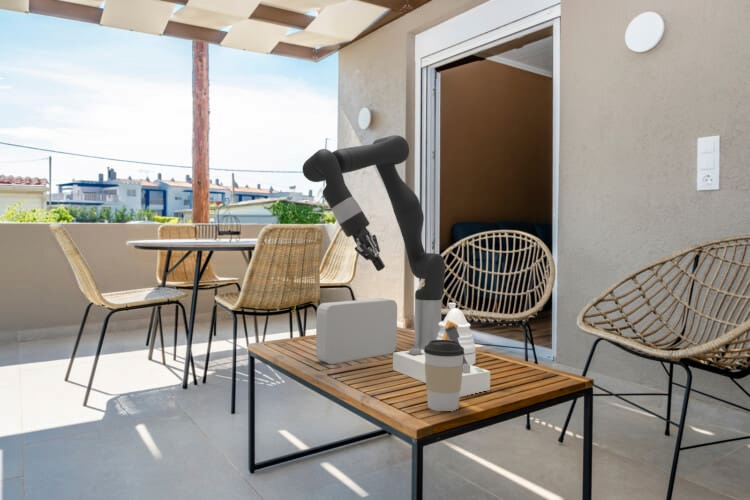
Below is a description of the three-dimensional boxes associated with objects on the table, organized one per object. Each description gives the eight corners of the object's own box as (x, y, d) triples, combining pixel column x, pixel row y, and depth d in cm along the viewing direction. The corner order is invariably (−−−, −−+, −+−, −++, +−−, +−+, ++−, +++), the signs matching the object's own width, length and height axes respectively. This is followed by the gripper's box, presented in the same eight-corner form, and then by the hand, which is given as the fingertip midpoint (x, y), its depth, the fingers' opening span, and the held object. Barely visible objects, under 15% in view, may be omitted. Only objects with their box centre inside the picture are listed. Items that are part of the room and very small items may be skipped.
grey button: (416, 357, 147) (416, 347, 147) (423, 360, 144) (423, 349, 144) (406, 359, 145) (406, 348, 145) (413, 361, 142) (413, 351, 142)
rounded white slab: (382, 349, 174) (382, 297, 173) (396, 353, 168) (397, 299, 167) (311, 360, 155) (312, 302, 155) (325, 365, 150) (326, 305, 149)
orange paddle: (439, 360, 138) (455, 323, 137) (441, 363, 134) (458, 325, 134) (431, 356, 137) (447, 320, 137) (433, 360, 134) (450, 322, 134)
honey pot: (426, 358, 160) (427, 302, 160) (458, 355, 166) (459, 300, 165) (449, 368, 148) (451, 307, 148) (484, 363, 154) (485, 305, 154)
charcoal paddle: (468, 365, 129) (453, 325, 128) (472, 369, 125) (456, 328, 125) (460, 368, 129) (444, 329, 128) (463, 372, 125) (447, 331, 125)
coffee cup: (419, 400, 118) (420, 336, 117) (457, 400, 119) (458, 336, 118) (427, 413, 109) (428, 345, 108) (468, 413, 110) (469, 344, 109)
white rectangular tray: (420, 365, 151) (420, 342, 151) (489, 390, 126) (490, 363, 126) (392, 369, 145) (393, 345, 145) (459, 397, 121) (460, 368, 121)
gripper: (352, 214, 133) (386, 270, 135) (368, 206, 146) (398, 257, 147) (331, 227, 136) (363, 282, 137) (347, 218, 149) (377, 268, 150)
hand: (381, 269), depth 142 cm, fingers closed
